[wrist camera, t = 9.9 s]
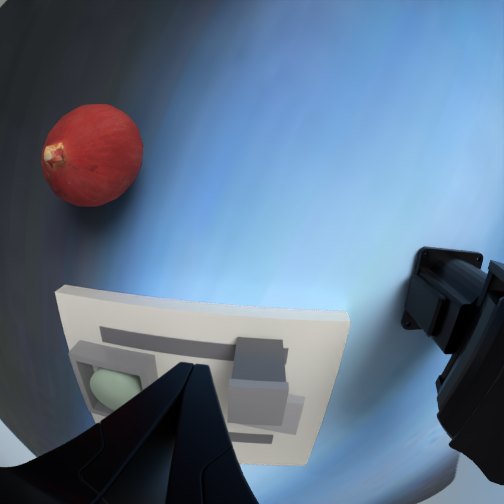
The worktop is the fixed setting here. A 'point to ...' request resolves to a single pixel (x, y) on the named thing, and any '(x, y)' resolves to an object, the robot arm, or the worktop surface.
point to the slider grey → (258, 383)
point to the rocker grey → (287, 416)
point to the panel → (206, 354)
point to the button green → (114, 387)
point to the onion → (92, 155)
